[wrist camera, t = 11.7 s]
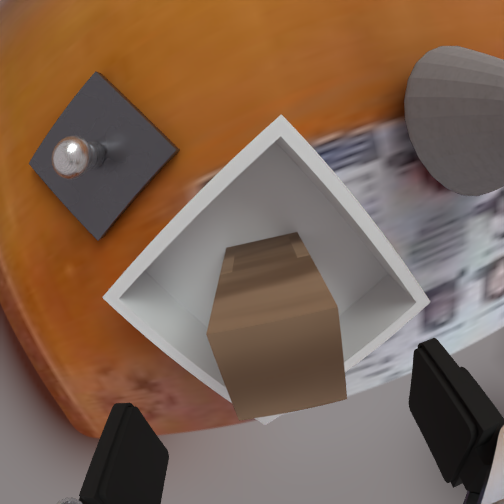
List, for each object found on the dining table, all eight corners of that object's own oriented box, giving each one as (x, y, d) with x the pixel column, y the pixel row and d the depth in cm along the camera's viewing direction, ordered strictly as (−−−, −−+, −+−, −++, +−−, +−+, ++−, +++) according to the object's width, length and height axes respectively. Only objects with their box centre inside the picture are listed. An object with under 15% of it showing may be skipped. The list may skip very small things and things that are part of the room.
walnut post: (226, 247, 22) (206, 334, 12) (297, 231, 22) (337, 306, 11) (243, 310, 24) (239, 420, 13) (309, 295, 23) (346, 399, 13)
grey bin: (133, 264, 24) (102, 297, 18) (272, 124, 21) (281, 114, 15) (262, 376, 27) (264, 425, 21) (395, 269, 24) (430, 301, 18)
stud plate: (35, 162, 21) (-7, 169, 16) (101, 73, 19) (65, 58, 14) (103, 237, 23) (69, 260, 18) (180, 149, 21) (158, 150, 16)
